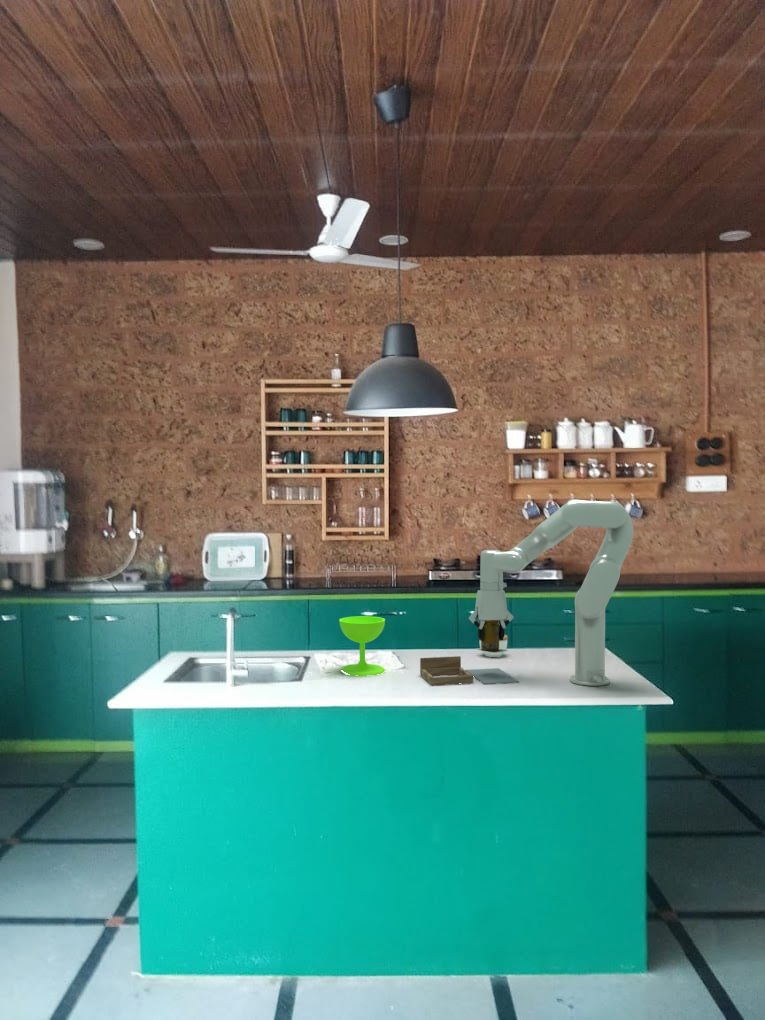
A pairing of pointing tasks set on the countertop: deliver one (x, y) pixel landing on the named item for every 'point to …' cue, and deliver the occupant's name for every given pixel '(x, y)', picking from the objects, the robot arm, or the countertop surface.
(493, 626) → the condiment
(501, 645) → the lidded jar
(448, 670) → the holder
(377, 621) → the wineglass
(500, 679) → the mat
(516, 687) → the countertop surface
